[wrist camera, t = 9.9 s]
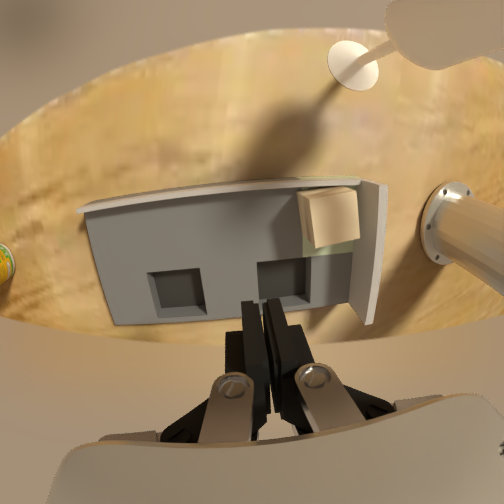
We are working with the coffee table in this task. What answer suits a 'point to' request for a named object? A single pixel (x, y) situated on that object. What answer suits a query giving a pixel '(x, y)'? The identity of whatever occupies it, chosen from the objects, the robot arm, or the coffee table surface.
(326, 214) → the birch block
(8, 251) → the supplement bottle
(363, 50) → the champagne flute
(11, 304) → the coffee table surface
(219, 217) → the tray
